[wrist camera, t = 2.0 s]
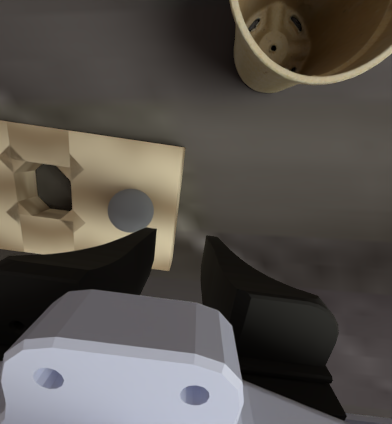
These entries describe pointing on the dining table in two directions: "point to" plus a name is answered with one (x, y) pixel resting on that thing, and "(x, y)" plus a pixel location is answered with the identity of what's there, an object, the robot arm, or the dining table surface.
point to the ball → (130, 210)
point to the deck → (83, 188)
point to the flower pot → (309, 40)
